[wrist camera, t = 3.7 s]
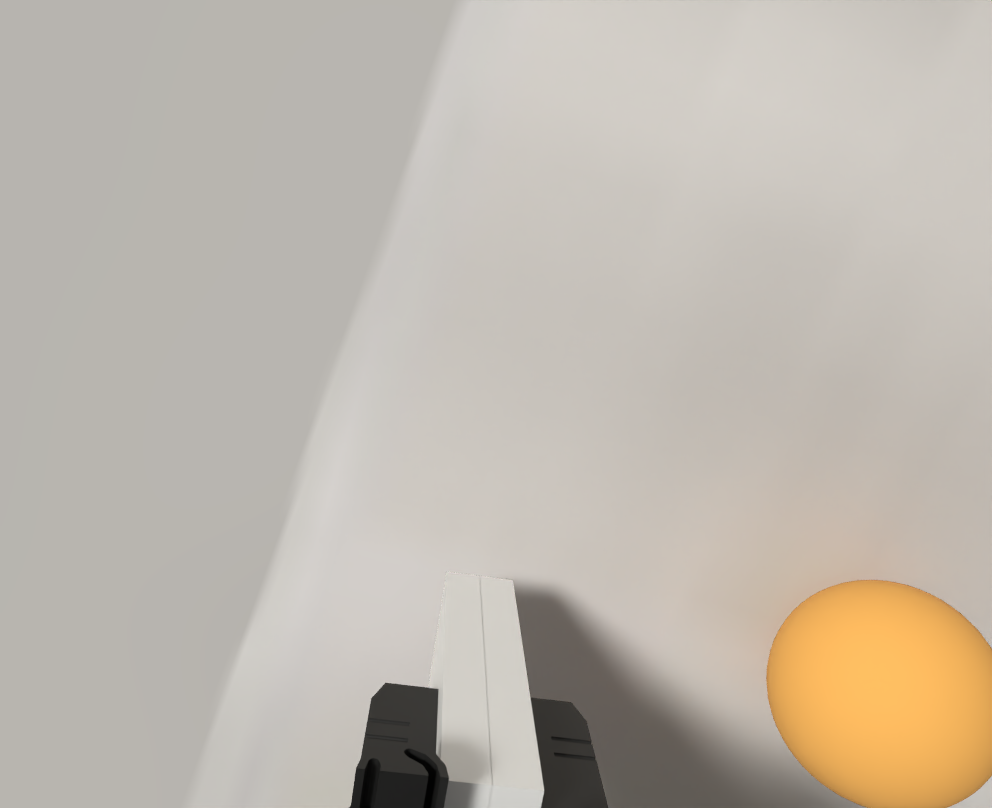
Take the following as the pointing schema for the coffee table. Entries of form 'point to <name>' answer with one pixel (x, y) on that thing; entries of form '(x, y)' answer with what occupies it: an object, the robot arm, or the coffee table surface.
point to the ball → (884, 695)
